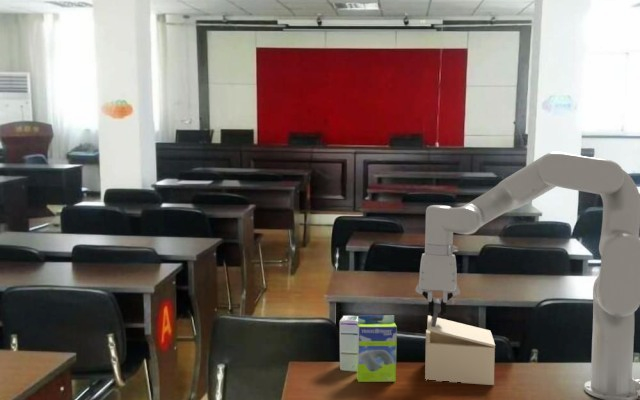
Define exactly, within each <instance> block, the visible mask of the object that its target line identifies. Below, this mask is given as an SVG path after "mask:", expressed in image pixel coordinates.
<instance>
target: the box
mask: <svg viewBox="0 0 640 400" xmlns="http://www.w3.org/2000/svg"><path fill="white" fill-rule="evenodd" d="M357 316H358V324H357V330H358V339H357V371H356V380H357V382H358V383H362V382H363V383H372V382H373V383H376V382H378V383H379V382H383V383H384V382H394V383H395V382H396V381H397V380H396V378H397V377H396V376H397V345H398V344H397V342H398V341H397V339H398V337H397V336H398V335H397V334H398V333H397V331H398V329H397V328H398V327H397V325H396V323H395V315H393V314H390V315H389V314H388V315H387V314H386V315H385V314H384V315H380V314H378V315H376V314H375V315H373V314H372V315H371V314H370V315H357ZM376 318H377V319H381V320H372V319H376Z"/></svg>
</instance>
